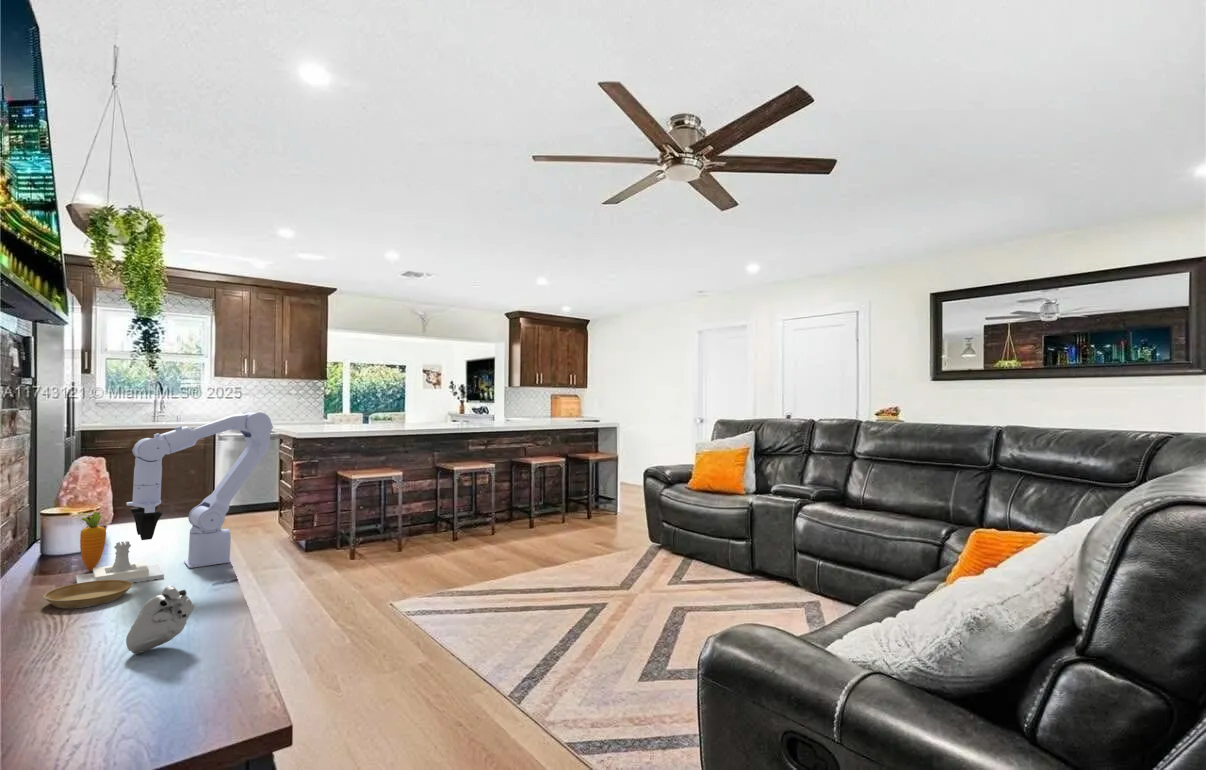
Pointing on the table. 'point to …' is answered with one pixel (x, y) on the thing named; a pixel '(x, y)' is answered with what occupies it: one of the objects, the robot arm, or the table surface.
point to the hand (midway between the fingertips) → (144, 536)
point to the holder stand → (124, 573)
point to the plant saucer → (87, 593)
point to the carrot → (92, 542)
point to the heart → (159, 620)
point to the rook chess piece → (121, 558)
